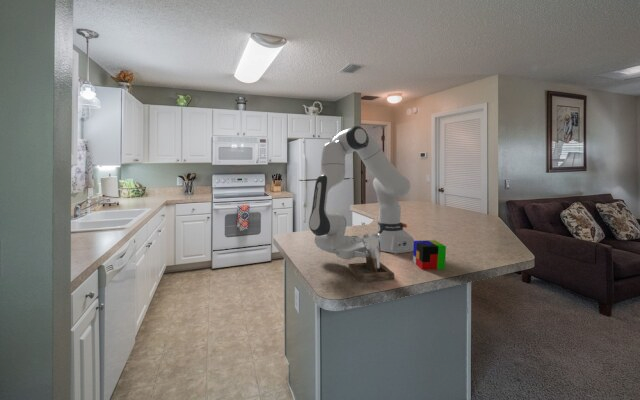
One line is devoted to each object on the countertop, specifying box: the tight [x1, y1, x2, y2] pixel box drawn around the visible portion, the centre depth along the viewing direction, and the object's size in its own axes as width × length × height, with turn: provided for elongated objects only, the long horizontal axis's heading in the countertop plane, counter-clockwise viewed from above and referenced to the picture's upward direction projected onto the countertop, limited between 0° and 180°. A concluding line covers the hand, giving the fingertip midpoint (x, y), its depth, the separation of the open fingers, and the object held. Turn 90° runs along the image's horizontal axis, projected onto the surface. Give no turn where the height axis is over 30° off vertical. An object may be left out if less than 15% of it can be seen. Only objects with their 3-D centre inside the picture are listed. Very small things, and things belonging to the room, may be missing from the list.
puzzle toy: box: [412, 239, 447, 271], centre depth 133 cm, size 10×10×10 cm
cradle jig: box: [348, 261, 395, 283], centre depth 123 cm, size 14×14×2 cm
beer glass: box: [362, 232, 381, 273], centre depth 123 cm, size 7×7×15 cm
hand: (372, 252), depth 122 cm, fingers open, 8 cm apart
